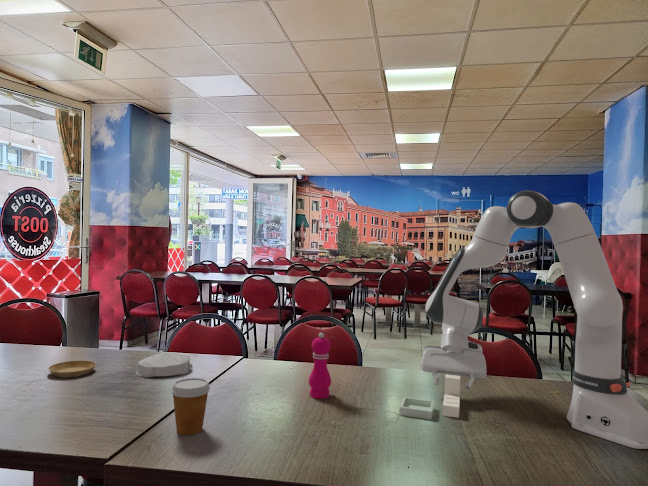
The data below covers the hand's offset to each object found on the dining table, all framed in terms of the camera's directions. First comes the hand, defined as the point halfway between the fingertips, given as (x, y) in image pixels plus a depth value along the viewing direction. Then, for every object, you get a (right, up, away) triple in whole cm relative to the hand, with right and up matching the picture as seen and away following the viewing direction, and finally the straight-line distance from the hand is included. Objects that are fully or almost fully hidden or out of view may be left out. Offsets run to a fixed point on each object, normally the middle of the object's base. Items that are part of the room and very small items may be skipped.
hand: (452, 386), depth 138 cm
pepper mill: (-42, -4, +2) cm, 42 cm away
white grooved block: (-2, -5, -7) cm, 9 cm away
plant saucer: (-129, -1, +18) cm, 131 cm away
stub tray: (-13, -5, -9) cm, 16 cm away
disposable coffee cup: (-74, -3, -26) cm, 79 cm away
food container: (-99, -2, +25) cm, 102 cm away
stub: (0, -5, 0) cm, 5 cm away
